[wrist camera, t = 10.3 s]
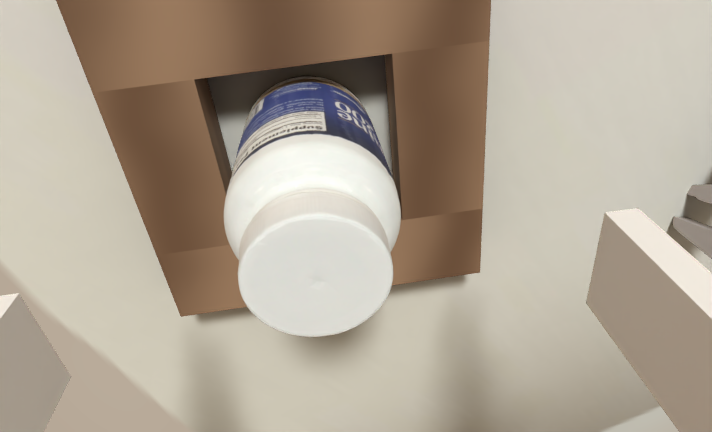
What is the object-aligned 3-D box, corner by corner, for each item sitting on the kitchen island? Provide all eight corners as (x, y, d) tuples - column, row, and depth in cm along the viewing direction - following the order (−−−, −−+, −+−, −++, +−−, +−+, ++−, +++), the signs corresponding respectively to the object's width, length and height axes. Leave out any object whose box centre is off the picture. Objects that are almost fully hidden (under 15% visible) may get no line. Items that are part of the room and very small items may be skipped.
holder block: (474, -74, 17) (493, -73, 15) (467, 247, 25) (479, 272, 23) (74, -25, 17) (48, -19, 15) (189, 288, 24) (180, 316, 22)
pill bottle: (389, 166, 22) (445, 318, 13) (278, 208, 22) (268, 379, 14) (345, 51, 19) (382, 153, 11) (220, 102, 19) (164, 238, 11)
